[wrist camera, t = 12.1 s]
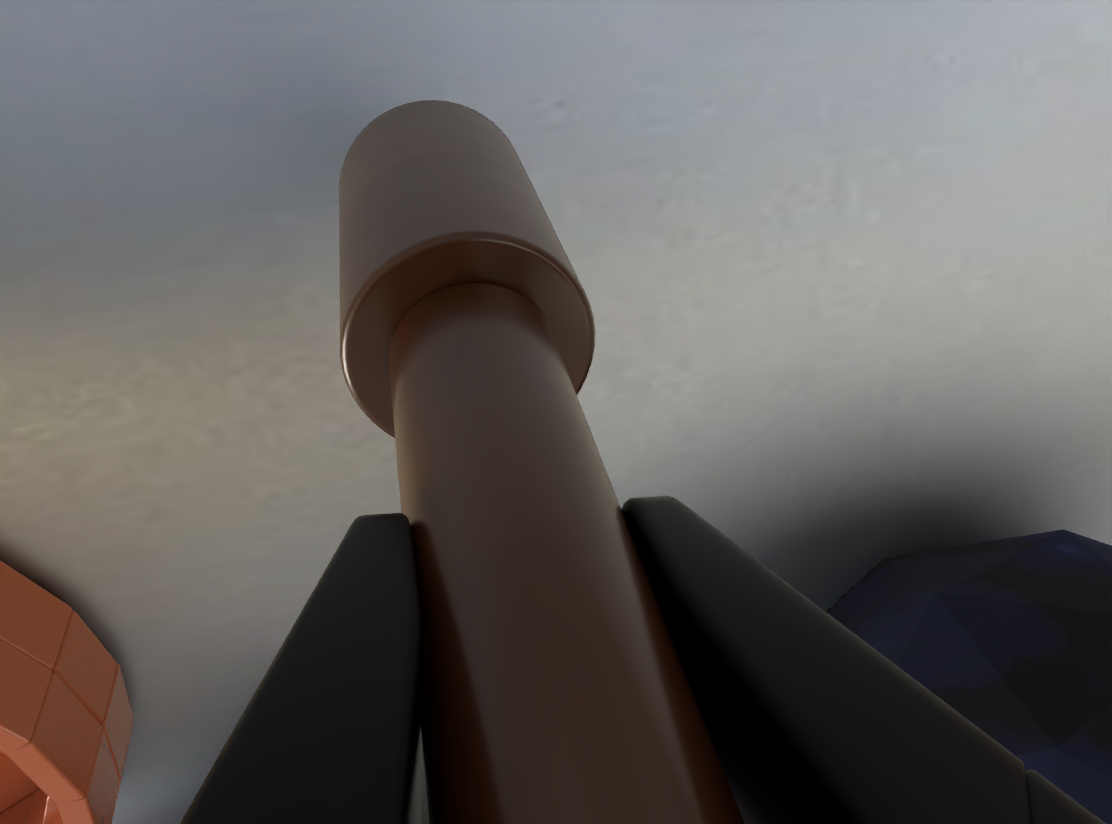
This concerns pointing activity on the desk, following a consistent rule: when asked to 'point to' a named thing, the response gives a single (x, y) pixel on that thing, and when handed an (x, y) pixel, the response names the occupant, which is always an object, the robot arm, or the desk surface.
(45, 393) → the desk surface
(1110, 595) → the decorative orb
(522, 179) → the muddler
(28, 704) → the bowl
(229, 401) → the desk surface
